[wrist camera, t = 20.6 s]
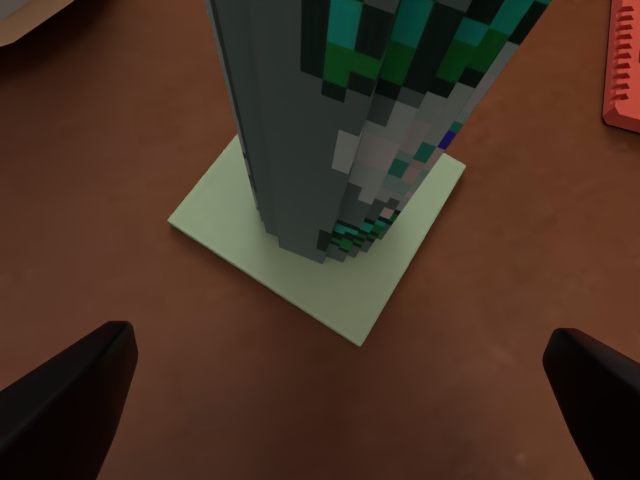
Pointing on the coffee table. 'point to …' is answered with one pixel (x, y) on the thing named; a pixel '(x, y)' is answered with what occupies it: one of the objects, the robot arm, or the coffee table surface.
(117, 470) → the coffee table surface
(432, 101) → the can
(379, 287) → the mat
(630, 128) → the handheld gaming console
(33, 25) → the desk lamp
